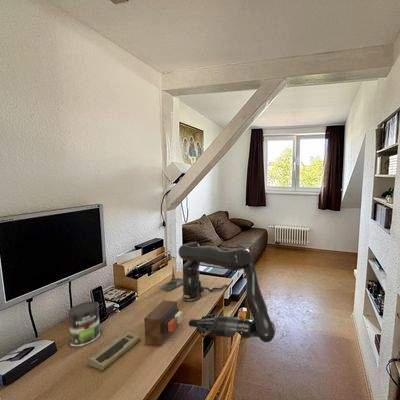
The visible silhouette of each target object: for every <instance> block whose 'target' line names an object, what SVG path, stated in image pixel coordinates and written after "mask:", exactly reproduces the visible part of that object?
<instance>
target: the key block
mask: <svg viewBox="0 0 400 400" xmlns="http://www.w3.org/2000/svg"><path fill="white" fill-rule="evenodd" d="M178 311H180V308H179V307H178V301H177V300H165V299H163V300H162V301H161V302H160V303H159V304H157V305H156V306H155V308H153V309H152V310H151V311H150V312H149V313H148V314H147V315H146V316H145V317H144V318H143V320H144V323H143V324H144V344H145V346H155V347H161V346H163V344H164V342H165V341H166V340H167V339H168V338H169V336H170V335H171V334H172V332H170V331H168V323H169V321H170V320H171V319H172V318H174V319H175V317H174V316H175V315H176V313H177V312H178ZM176 324H177V326H178V323H176Z"/></svg>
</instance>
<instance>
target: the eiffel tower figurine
mask: <svg viewBox="0 0 400 400" xmlns="http://www.w3.org/2000/svg"><path fill="white" fill-rule="evenodd" d="M174 268H175V267H174V266H172V275H171V279H170V281H168V282H166V283H165V284H163V285H161V286H159V287H158V288H159V289H162V290H167V291H171V290H174V289H176V288H177V287H179V286H181V285H183V278H179V277H177V278H176V277H175V269H174Z"/></svg>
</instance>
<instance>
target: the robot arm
mask: <svg viewBox="0 0 400 400" xmlns="http://www.w3.org/2000/svg"><path fill="white" fill-rule="evenodd" d="M178 256H179V258H180V259H181V260H183V261H186V262H185V263H184V264H183V265H182V279H183V284H182V300H183V301H185V302H194V301H198V299H200V297H202V293H204V292H205V290H208V291H209V292H212V291H214V290H218V291H221V290H223V289H224V288H225V287H228V286H229V285H227V284H224V285H223V286H221V287H212V288H211V289H210V288H209V287H205V286H202V282H201V280H200V265H201V263H202V264H206V265H211V266H215V267H221V268H223V269H226V270H228V271H232V272H237V271H241V270H243V272H244V274H245V279H246V288H245V298H246V303H247V305H248V308H249V310H250V313H251V316H252V319H250V318H242V317H241V318H240V317H237V316H226V315H219V316H216V313H210V314H206V315H203V316H201V318H199V319H193V318H191V319H190V320H188V326H189V327H191V328H196V332H197V334H199V335H200V336H201V338H206V335H208V334H209V335H212V334H214V335H215V336H216V337H222V338H230V339H231V338H233V336H234V335H235V333H236V332H238V333H239V334H240V335H241V338H240V339H251V338H259V340H260V341H261V342H263V343H270V342H272V341H273V340H274V338H275V335H276V331H277V327H276V324H275V322H274V321H273V320H271V318H270V315H269V313H268V312H269V311H268V308H267V304H266V302H265V298H264V297H263V293H262V291H261V288H260V285H259V280H258V276H257V272H256V268H255V263H254V259H253V255H252V253H251V251H250V250H249V249H248V248H245V247H242V248H237V249H232V250H228V251H227V250H222V249H221V248H219V247H218V246H215V245H201V246H200V244H199V243H198V242H197V241H191V242H188V243H184V244H182V245H181V246H180V247H179V248H178ZM244 320H245V321H244ZM243 323H244V325H243ZM242 328H243V329H242ZM241 332H242V334H241Z"/></svg>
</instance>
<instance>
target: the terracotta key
mask: <svg viewBox="0 0 400 400" xmlns="http://www.w3.org/2000/svg"><path fill="white" fill-rule="evenodd" d="M177 327H178V325H177V324H176V319H174V318H172V319H171V320H170V321H169V323H168V331H170V332H171V333H173V332H174V330H175V329H176V328H177Z"/></svg>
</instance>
